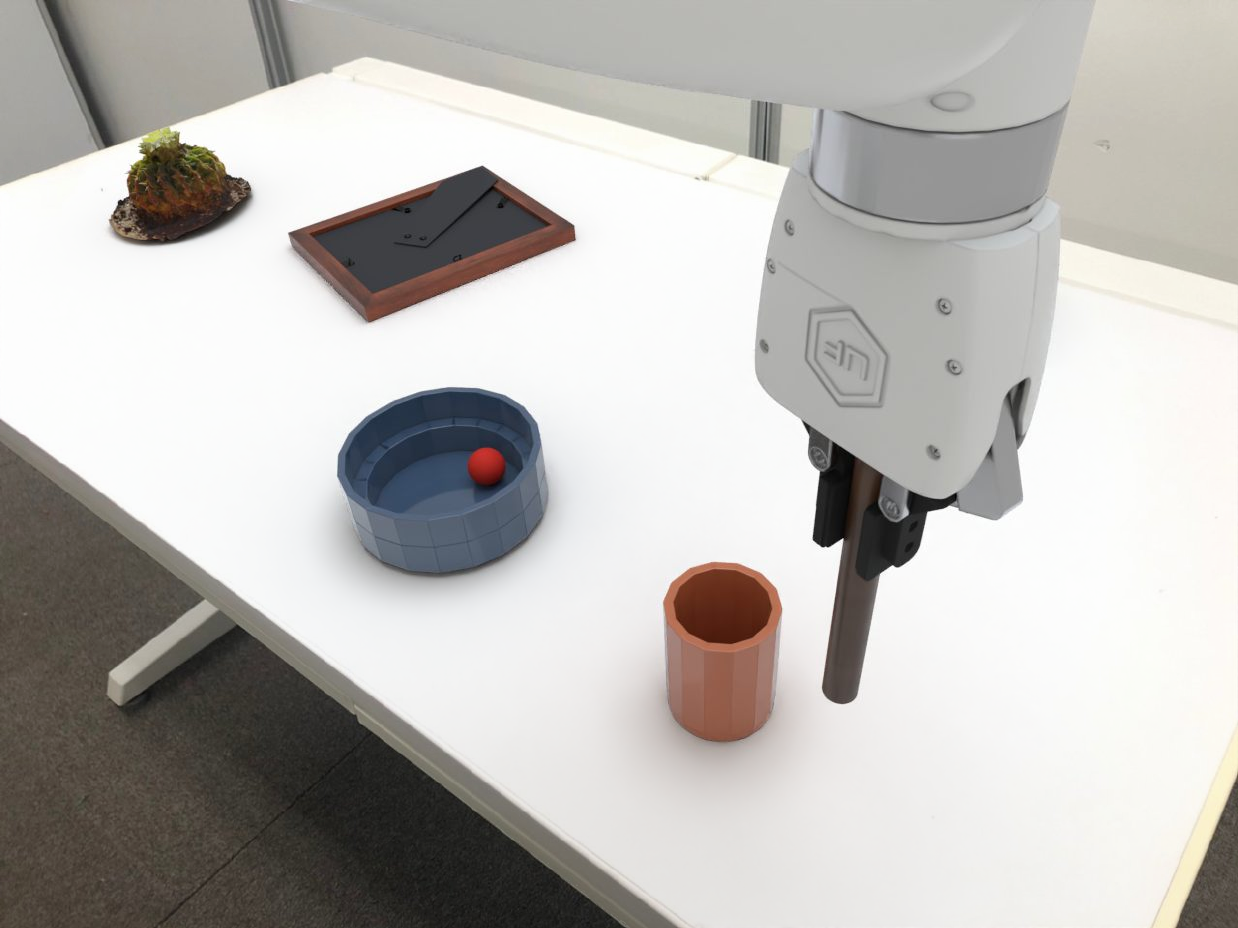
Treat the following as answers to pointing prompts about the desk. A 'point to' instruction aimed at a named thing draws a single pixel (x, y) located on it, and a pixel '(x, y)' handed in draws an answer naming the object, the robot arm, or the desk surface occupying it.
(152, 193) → the cactus
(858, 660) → the stick
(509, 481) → the bowl
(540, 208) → the picture frame
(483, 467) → the ball
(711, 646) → the crock
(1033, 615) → the desk surface
